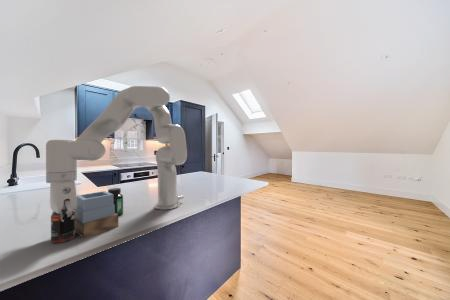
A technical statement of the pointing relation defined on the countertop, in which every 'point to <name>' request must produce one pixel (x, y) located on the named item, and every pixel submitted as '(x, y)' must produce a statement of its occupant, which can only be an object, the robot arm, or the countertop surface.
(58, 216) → the supplement bottle
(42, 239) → the countertop surface
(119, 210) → the supplement bottle
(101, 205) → the tower top block
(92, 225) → the tower base block
